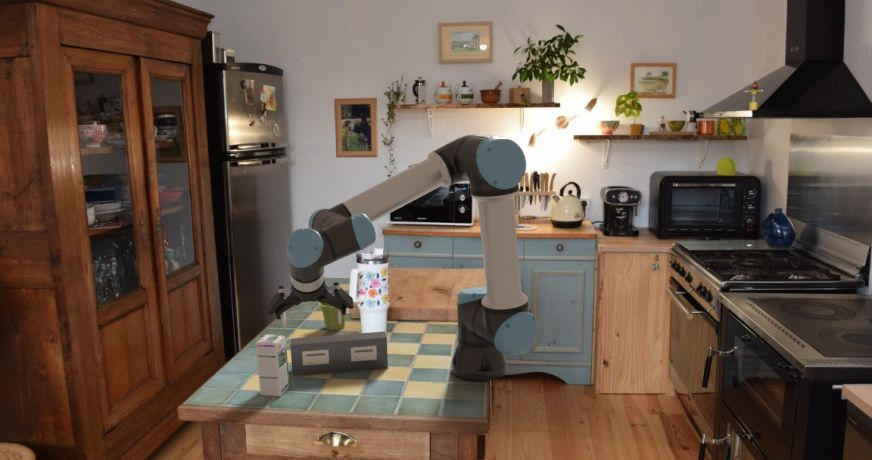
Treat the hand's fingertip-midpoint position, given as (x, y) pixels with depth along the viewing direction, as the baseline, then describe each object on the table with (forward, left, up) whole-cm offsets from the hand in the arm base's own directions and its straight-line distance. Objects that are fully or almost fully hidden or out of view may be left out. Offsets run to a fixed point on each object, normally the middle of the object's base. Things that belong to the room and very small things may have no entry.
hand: (312, 320), depth 170 cm
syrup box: (+10, +5, -20) cm, 23 cm away
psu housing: (+6, -15, -20) cm, 26 cm away
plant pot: (+31, -39, -20) cm, 54 cm away
